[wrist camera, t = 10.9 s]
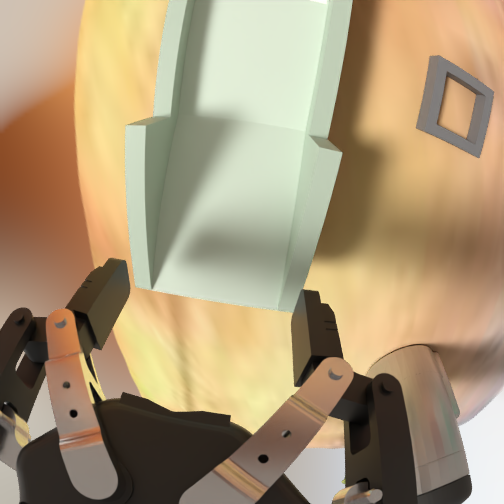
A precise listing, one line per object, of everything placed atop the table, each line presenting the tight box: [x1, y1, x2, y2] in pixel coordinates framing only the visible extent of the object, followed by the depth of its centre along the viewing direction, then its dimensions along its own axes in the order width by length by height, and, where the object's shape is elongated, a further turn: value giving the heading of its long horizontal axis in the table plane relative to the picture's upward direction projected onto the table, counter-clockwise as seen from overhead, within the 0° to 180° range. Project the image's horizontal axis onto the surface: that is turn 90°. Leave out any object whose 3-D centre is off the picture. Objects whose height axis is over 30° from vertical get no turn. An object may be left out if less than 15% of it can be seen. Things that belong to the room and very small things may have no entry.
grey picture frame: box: [416, 55, 494, 158], centre depth 13 cm, size 6×6×1 cm
